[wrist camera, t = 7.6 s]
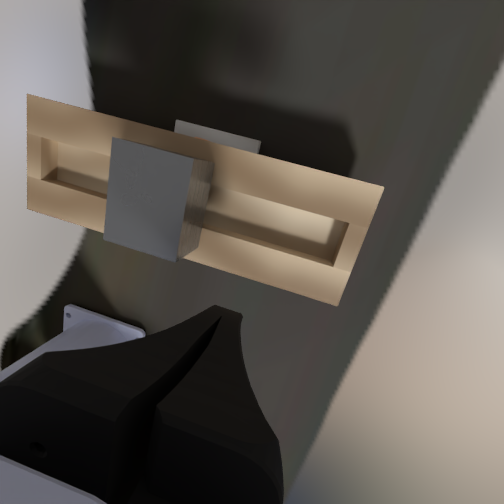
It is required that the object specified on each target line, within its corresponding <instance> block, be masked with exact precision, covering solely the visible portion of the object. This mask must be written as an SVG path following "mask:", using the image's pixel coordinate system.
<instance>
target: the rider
mask: <svg viewBox="0 0 504 504" xmlns="http://www.w3.org/2000/svg"><path fill="white" fill-rule="evenodd" d="M214 166H215V163H214V162H210V161H206V160H203V159H199V158H195V157H192V156H188V155H184V154H180V153H177V152H173V151H169V150H166V149H162V148H158V147H155V146H151V145H147V144H142V143H138V142H134V141H129V140H125V139H120V138H116V137H112V143H111V155H110V167H109V178H108V190H107V201H106V213H105V225H104V236H103V240H106V241H109V242H112V243H116V244H119V245H122V246H125V247H128V248H131V249H135V250H138V251H141V252H144V253H147V254H150V255H154V256H157V257H160V258H163V259H166V260H169V261H172V262H177V261H178V260H180V259H182V258H183V257H185V256H186V255H188V254H189V253H191V252H192V251H194V250H195V249H197V248H198V246H199V241H200V236H201V231H202V226H203V221H204V216H205V211H206V206H207V201H208V196H209V191H210V186H211V181H212V176H213V171H214Z"/></svg>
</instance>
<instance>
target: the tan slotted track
mask: <svg viewBox="0 0 504 504" xmlns="http://www.w3.org/2000/svg"><path fill="white" fill-rule="evenodd" d="M112 137H116V138H120V139H125V140H129V141H134V142H138V143H142V144H147V145H151V146H155V147H158V148H162V149H166V150H169V151H173V152H177V153H180V154H184V155H188V156H192V157H195V158H199V159H203V160H206V161H210V162H214V163H215V166H214V171H213V176H212V181H211V186H210V191H209V196H208V201H207V206H206V211H205V216H204V221H203V226H202V231H201V236H200V241H199V246H198V248H197V249H195V250H194V251H192V252H191V253H189V254H188V255H186V256H185V257H183V258H185V259H188V260H192V261H195V262H198V263H201V264H204V265H208V266H211V267H214V268H217V269H220V270H224V271H227V272H230V273H233V274H236V275H240V276H243V277H246V278H249V279H252V280H255V281H259V282H262V283H265V284H268V285H271V286H275V287H278V288H281V289H284V290H287V291H291V292H294V293H297V294H300V295H303V296H306V297H310V298H313V299H316V300H319V301H322V302H326V303H329V304H332V305H335V306H338V303H339V301H340V298H341V296H342V293H343V291H344V288H345V286H346V283H347V281H348V278H349V276H350V273H351V271H352V268H353V266H354V263H355V261H356V258H357V256H358V253H359V250H360V248H361V245H362V243H363V240H364V238H365V235H366V233H367V230H368V228H369V225H370V223H371V220H372V218H373V215H374V213H375V210H376V208H377V205H378V203H379V200H380V197H381V195H382V192H383V190H384V187H382V186H378V185H374V184H370V183H366V182H363V181H359V180H355V179H351V178H347V177H343V176H340V175H336V174H332V173H328V172H324V171H320V170H317V169H313V168H309V167H305V166H301V165H298V164H294V163H290V162H286V161H282V160H278V159H275V158H271V157H267V156H263V155H259V154H258V153H259V149H260V145H261V141H259V140H255V139H251V138H247V137H243V136H239V135H235V134H231V133H227V132H223V131H219V130H216V129H212V128H208V127H204V126H200V125H196V124H192V123H188V122H184V121H180V120H176V123H175V130H174V132H171V131H168V130H164V129H160V128H156V127H152V126H149V125H145V124H141V123H137V122H133V121H129V120H126V119H122V118H118V117H114V116H110V115H106V114H103V113H99V112H95V111H91V110H87V109H83V108H80V107H76V106H72V105H68V104H64V103H61V102H57V101H53V100H49V99H45V98H42V97H38V96H34V95H30V94H27V209H29V210H32V211H35V212H39V213H42V214H45V215H48V216H52V217H55V218H58V219H61V220H64V221H67V222H71V223H74V224H77V225H80V226H83V227H86V228H90V229H93V230H96V231H99V232H102V233H104V225H105V213H106V201H107V190H108V178H109V167H110V155H111V143H112Z"/></svg>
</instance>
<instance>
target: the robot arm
mask: <svg viewBox="0 0 504 504" xmlns="http://www.w3.org/2000/svg"><path fill="white" fill-rule="evenodd" d="M242 318H243V316H242V314H241V313H238V312H235V311H232V310H229V309H226V308H223V307H220V306H217V305H214V306H212V307H210V308H208V309H206V310H204V311H203V312H201V313H199V314H197V315H195V316H193V317H191V318H190V319H188V320H186V321H184V322H182V323H180V324H177V325H175V326H173V327H171V328H168V329H166V330H163V331H160V332H158V333H155V334H152V335H149V336H145V331H144V330H143V329H141V328H138V327H135V326H132V325H129V324H127V323H124V322H121V321H118V320H115V319H112V318H109V317H107V316H104V315H101V314H98V313H95V312H92V311H89V310H87V309H84V308H81V307H78V306H75V305H72V304H69V305H67V306H65V308H64V324H63V332H62V333H61V334H59V335H57V336H56V337H54V338H53V339H51V340H50V341H48V342H46V343H45V344H43V345H42V346H40V347H38V348H37V349H35V350H34V351H32V352H31V353H29V354H27V355H26V356H24V357H23V358H21V359H20V360H18V361H16V362H15V363H13V364H12V365H10V366H9V367H7V368H5V369H4V370H2V371H1V372H0V504H283V495H284V487H283V469H282V460H281V453H280V446H279V440H278V439H277V437H276V435H275V434H274V432H273V430H272V429H271V427H270V426H269V424H268V422H267V421H266V419H265V417H264V415H263V413H262V411H261V409H260V407H259V405H258V402H257V400H256V397H255V395H254V392H253V390H252V388H251V385H250V382H249V379H248V376H247V372H246V368H245V364H244V360H243V354H242V347H241V336H240V328H241V322H242ZM137 337H138V338H137Z"/></svg>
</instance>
